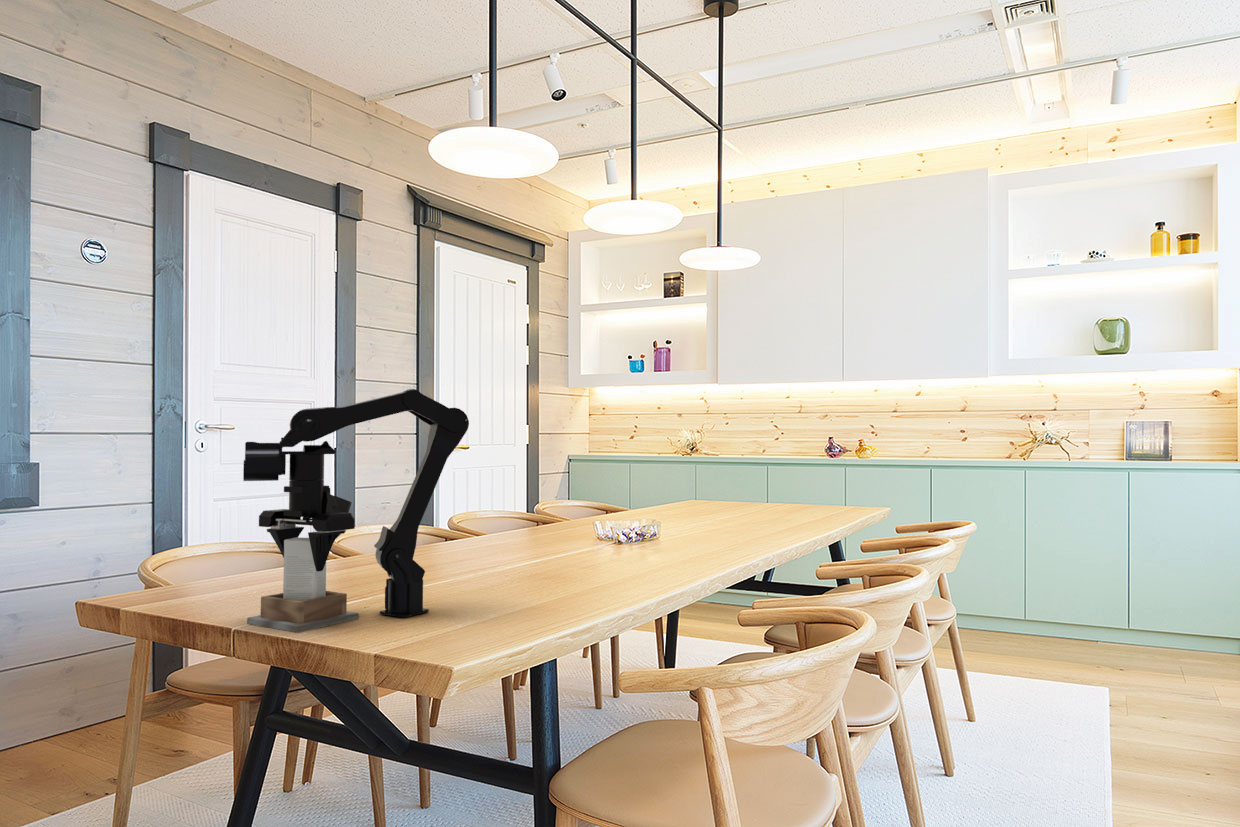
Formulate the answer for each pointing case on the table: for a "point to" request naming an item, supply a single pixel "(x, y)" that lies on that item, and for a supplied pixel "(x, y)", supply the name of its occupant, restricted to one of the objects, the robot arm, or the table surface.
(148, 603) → the table surface
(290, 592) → the skincare box
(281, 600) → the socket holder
